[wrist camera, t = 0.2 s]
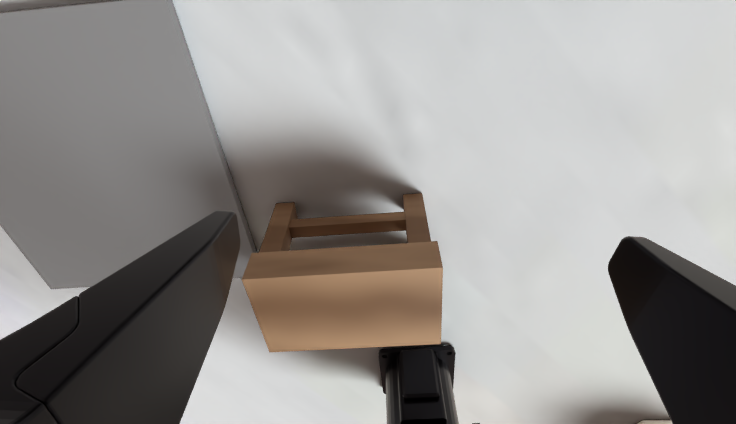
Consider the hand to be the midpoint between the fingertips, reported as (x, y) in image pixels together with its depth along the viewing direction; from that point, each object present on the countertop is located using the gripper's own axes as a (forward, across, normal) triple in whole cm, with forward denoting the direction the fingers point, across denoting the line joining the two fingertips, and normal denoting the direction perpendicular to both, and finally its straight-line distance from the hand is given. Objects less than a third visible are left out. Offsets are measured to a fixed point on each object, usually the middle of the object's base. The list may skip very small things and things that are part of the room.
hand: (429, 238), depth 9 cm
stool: (+14, +2, +11) cm, 18 cm away
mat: (+14, +18, +7) cm, 24 cm away
